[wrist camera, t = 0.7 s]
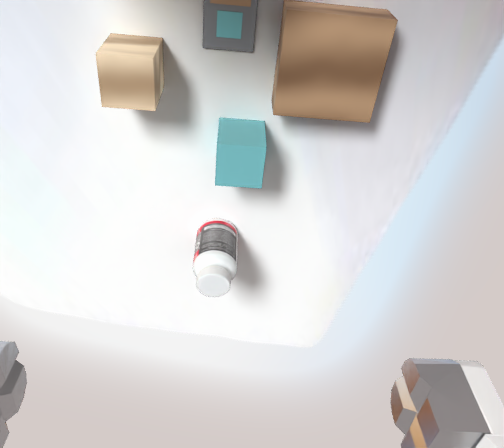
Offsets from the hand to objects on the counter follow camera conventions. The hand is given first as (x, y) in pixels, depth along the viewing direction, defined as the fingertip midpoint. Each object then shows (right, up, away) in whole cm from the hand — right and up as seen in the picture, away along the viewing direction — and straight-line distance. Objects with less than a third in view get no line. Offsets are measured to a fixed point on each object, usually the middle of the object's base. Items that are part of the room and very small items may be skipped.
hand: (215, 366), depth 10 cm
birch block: (-11, +20, +37) cm, 43 cm away
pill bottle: (-4, +2, +51) cm, 51 cm away
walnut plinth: (+8, +20, +37) cm, 43 cm away
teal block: (0, +13, +42) cm, 44 cm away
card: (-1, +24, +33) cm, 41 cm away
